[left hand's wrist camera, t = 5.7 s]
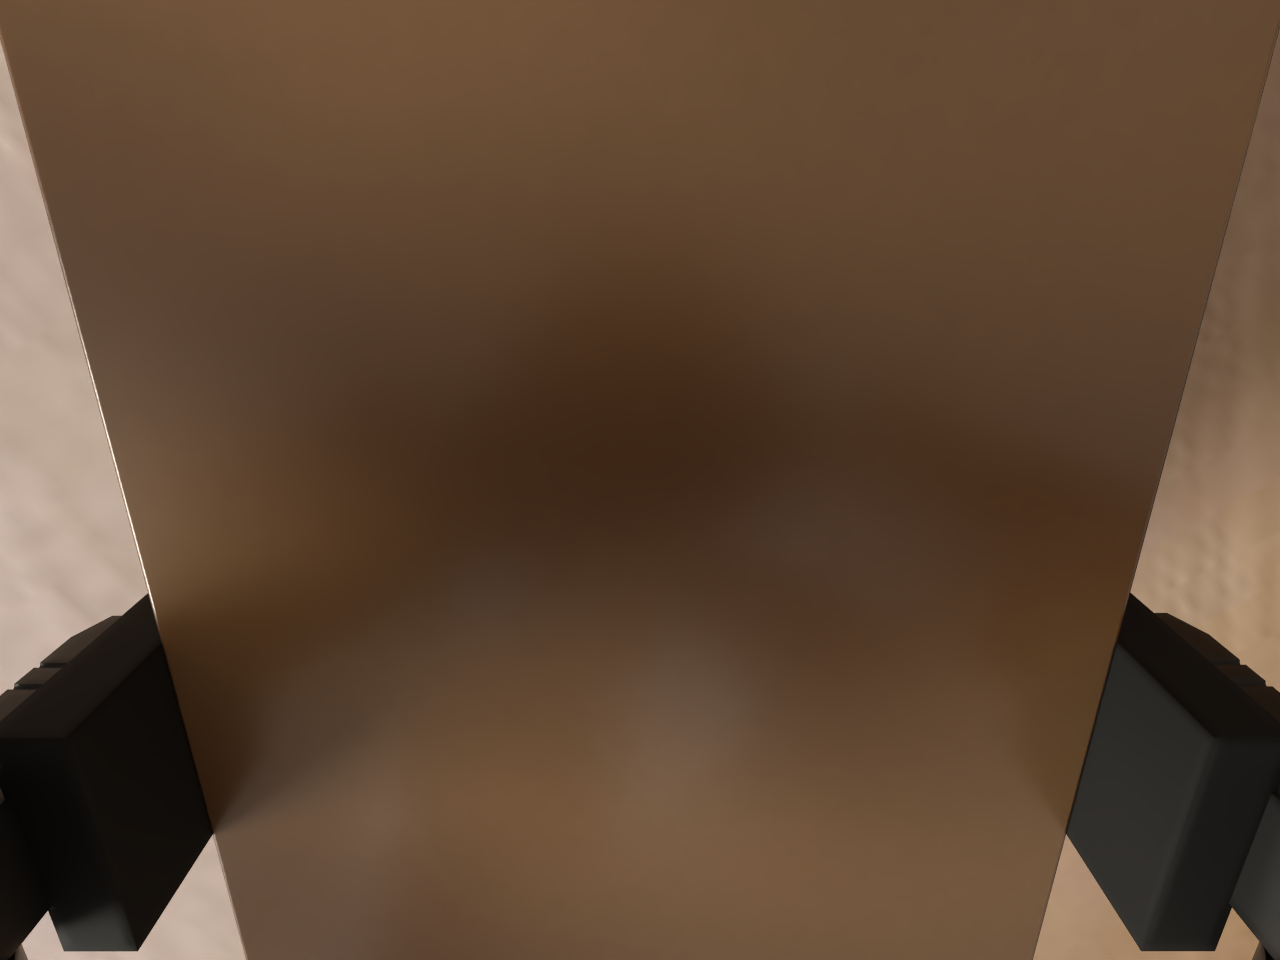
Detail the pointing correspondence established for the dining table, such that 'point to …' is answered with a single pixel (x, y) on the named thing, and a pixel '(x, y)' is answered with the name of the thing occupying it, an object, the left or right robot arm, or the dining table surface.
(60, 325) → the dining table surface
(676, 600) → the cabinet
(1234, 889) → the left robot arm
